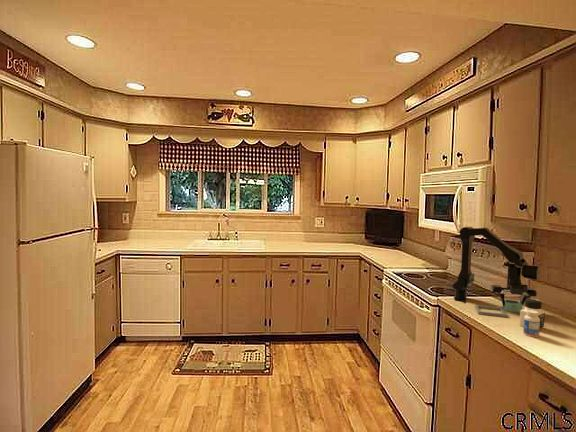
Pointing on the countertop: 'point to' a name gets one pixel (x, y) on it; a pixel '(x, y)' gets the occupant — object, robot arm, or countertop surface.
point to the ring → (512, 306)
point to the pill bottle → (531, 323)
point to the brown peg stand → (511, 302)
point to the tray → (490, 312)
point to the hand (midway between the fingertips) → (512, 307)
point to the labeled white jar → (535, 306)
